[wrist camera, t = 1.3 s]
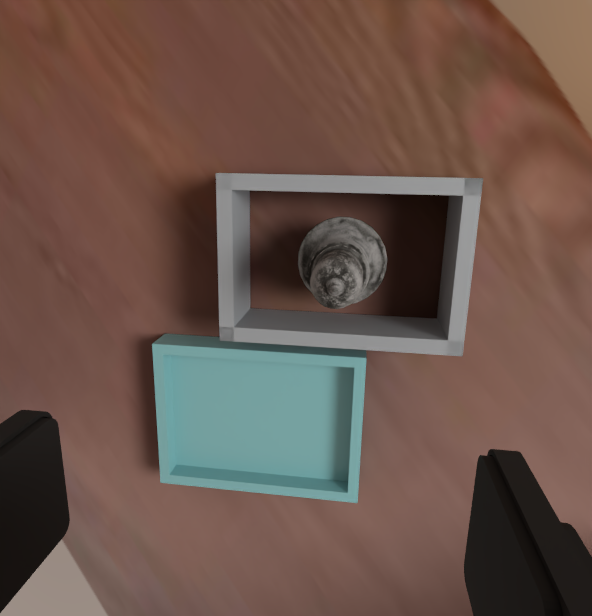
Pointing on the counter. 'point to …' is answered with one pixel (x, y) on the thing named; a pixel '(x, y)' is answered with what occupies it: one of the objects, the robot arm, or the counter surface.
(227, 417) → the tray
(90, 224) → the counter surface
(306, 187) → the deep rectangular frame
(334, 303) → the grey stone turned piece
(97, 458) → the counter surface
